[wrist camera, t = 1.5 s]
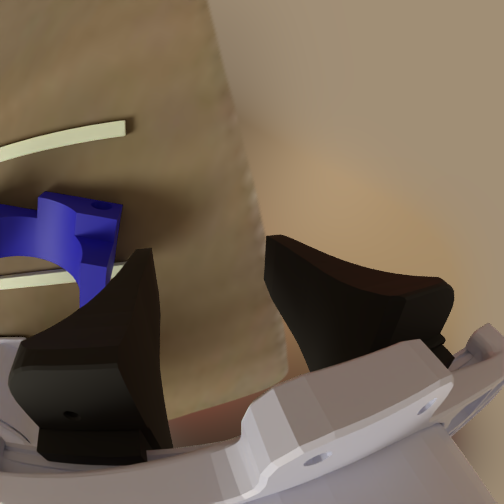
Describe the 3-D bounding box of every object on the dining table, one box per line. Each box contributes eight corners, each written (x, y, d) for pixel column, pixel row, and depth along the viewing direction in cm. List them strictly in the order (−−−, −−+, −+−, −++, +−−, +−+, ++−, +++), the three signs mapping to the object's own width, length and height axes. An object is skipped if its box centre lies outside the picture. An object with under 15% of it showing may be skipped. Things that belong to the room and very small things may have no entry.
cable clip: (123, 204, 18) (109, 241, 13) (114, 261, 20) (103, 311, 15) (-16, 181, 14) (-61, 209, 9) (-16, 235, 15) (-52, 275, 10)
